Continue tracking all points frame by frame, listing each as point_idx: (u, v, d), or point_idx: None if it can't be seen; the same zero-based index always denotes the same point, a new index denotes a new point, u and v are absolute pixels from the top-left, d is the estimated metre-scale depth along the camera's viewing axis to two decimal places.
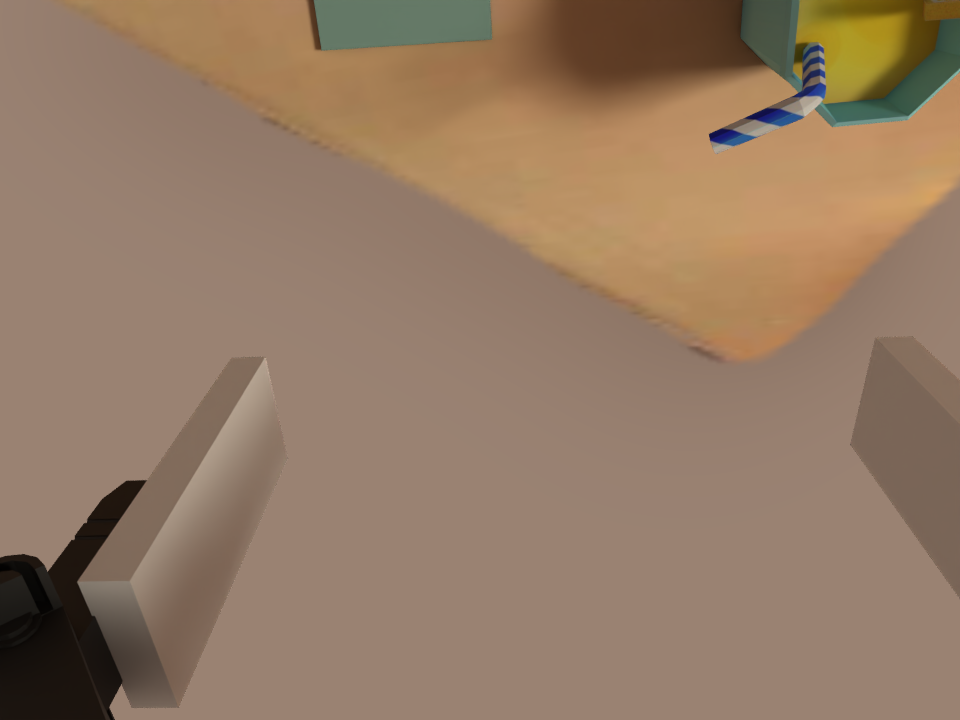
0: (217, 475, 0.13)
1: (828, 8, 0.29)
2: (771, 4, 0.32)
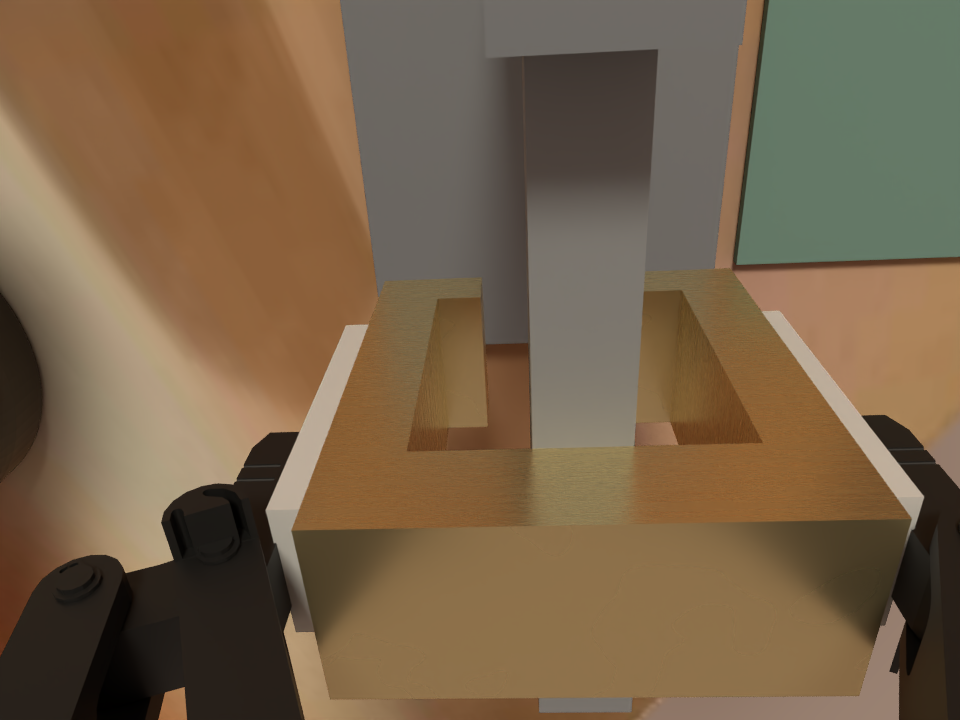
0: None
1: None
2: None
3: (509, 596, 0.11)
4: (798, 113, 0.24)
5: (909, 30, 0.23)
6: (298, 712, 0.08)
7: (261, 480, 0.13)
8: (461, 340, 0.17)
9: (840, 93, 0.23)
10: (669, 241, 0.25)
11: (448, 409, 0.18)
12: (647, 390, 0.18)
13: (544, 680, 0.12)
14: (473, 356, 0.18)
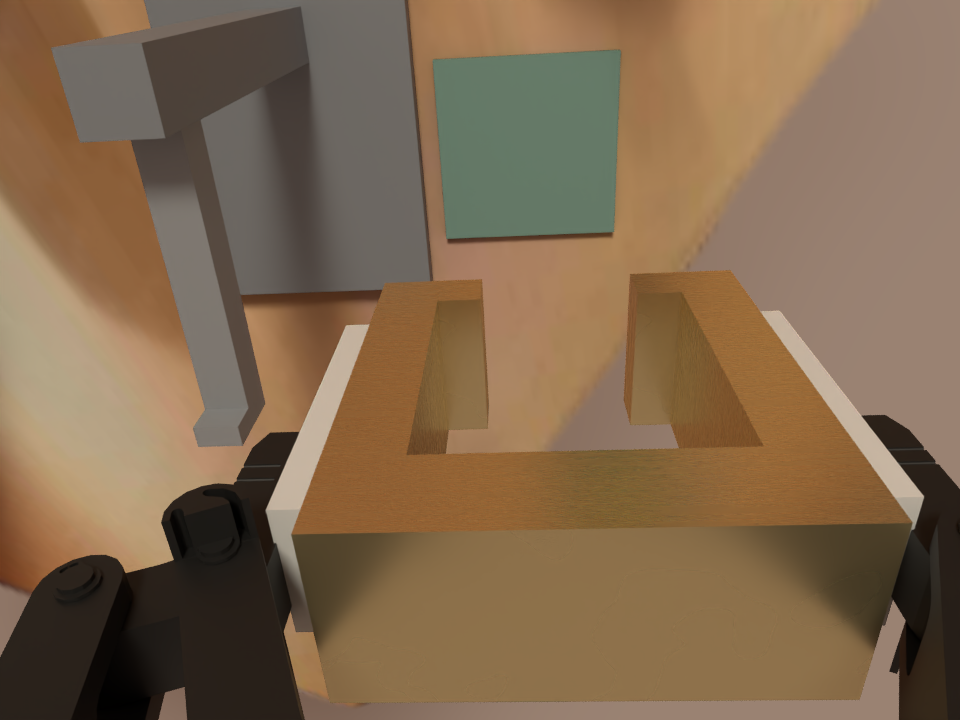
0: None
1: None
2: None
3: (509, 600, 0.11)
4: (466, 139, 0.37)
5: (524, 87, 0.36)
6: (298, 712, 0.08)
7: (261, 480, 0.13)
8: (461, 342, 0.17)
9: (490, 126, 0.37)
10: (393, 222, 0.38)
11: (448, 411, 0.18)
12: (648, 392, 0.18)
13: (544, 684, 0.11)
14: (473, 358, 0.18)
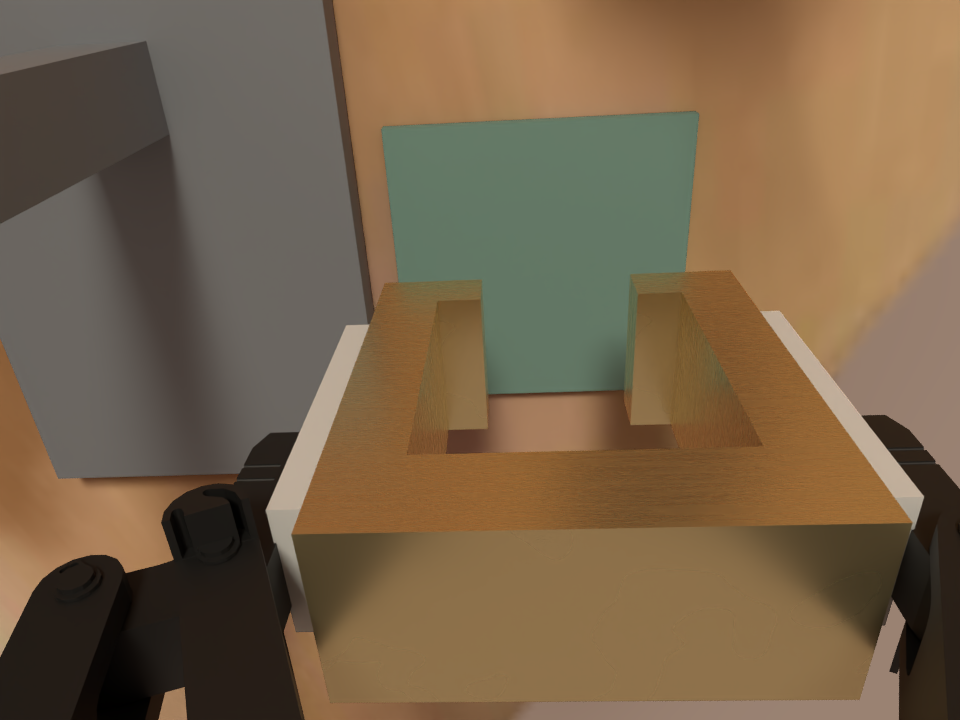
0: None
1: None
2: None
3: (509, 600, 0.11)
4: (440, 252, 0.23)
5: (535, 173, 0.21)
6: (298, 712, 0.08)
7: (261, 480, 0.13)
8: (461, 342, 0.17)
9: (479, 233, 0.22)
10: None
11: (448, 411, 0.18)
12: (648, 392, 0.18)
13: (544, 684, 0.11)
14: (473, 358, 0.18)
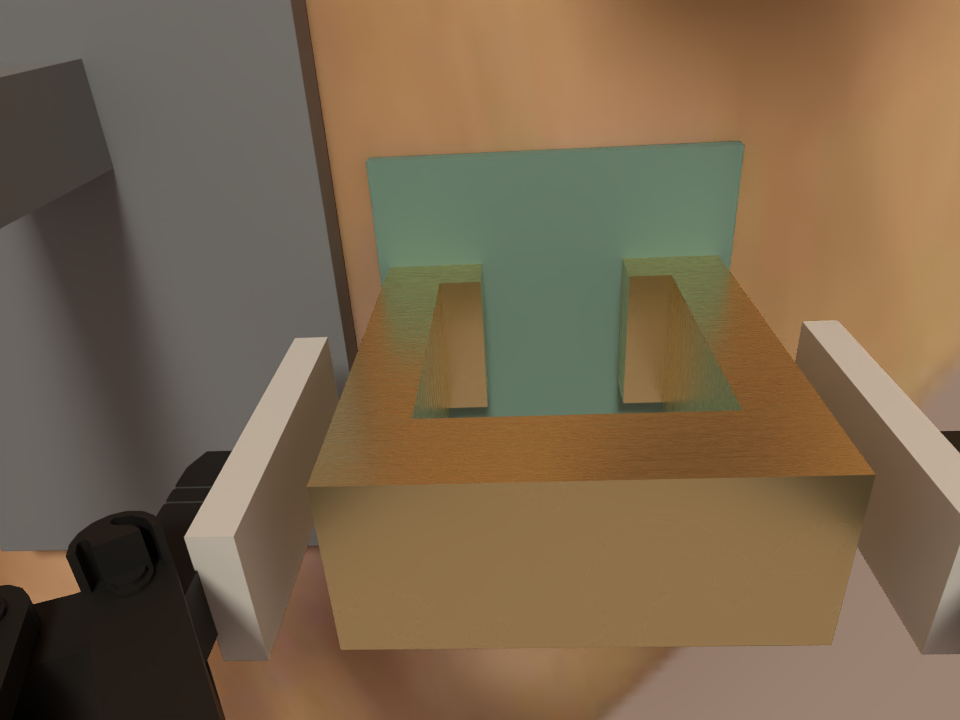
0: (294, 445, 0.14)
1: None
2: None
3: (507, 549, 0.12)
4: None
5: (548, 212, 0.18)
6: None
7: (190, 502, 0.13)
8: (462, 323, 0.18)
9: None
10: None
11: (450, 390, 0.19)
12: (640, 371, 0.19)
13: (539, 630, 0.12)
14: (473, 338, 0.18)
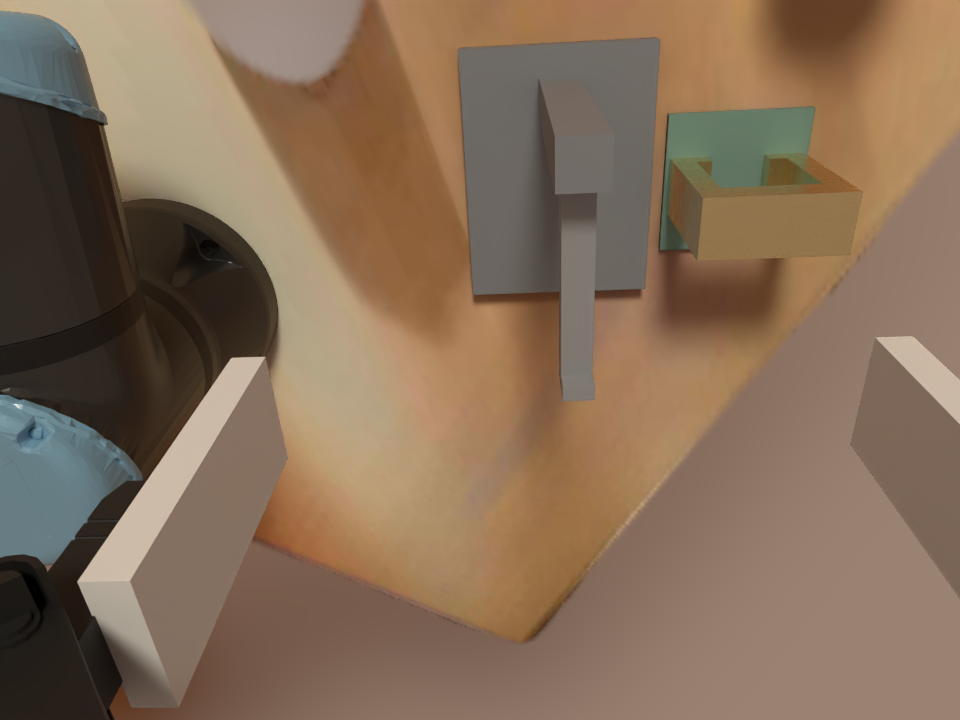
0: (217, 475, 0.13)
1: None
2: None
3: (756, 219, 0.40)
4: None
5: (737, 135, 0.46)
6: None
7: (100, 538, 0.12)
8: None
9: None
10: (623, 238, 0.49)
11: None
12: None
13: (761, 251, 0.41)
14: None
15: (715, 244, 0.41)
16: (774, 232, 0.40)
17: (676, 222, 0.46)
